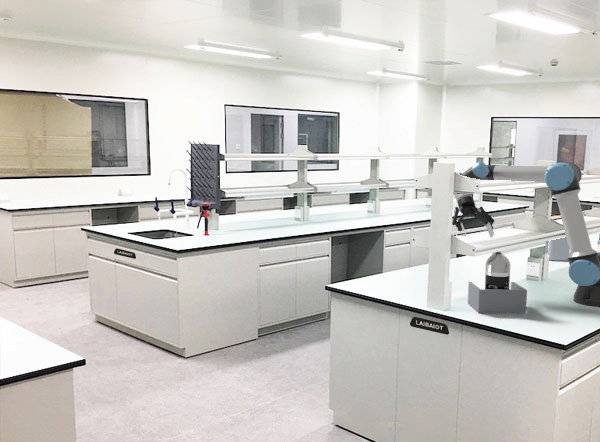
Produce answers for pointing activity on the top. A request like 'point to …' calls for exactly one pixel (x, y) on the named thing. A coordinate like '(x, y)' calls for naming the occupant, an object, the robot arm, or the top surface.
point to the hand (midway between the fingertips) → (478, 235)
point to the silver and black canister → (497, 272)
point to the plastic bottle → (558, 249)
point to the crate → (497, 299)
